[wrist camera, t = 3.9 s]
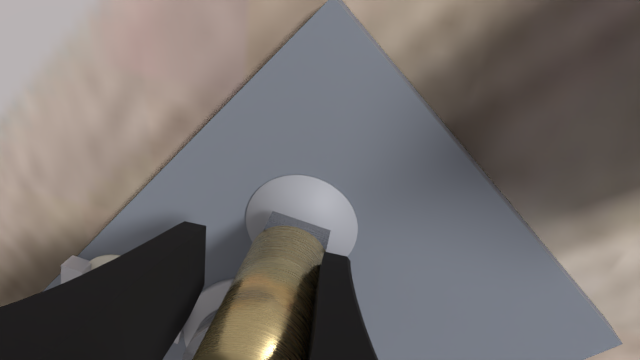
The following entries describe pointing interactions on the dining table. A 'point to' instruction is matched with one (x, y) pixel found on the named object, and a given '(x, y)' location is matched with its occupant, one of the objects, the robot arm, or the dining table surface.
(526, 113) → the dining table surface
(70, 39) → the dining table surface
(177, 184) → the plate
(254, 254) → the brass crank handle
